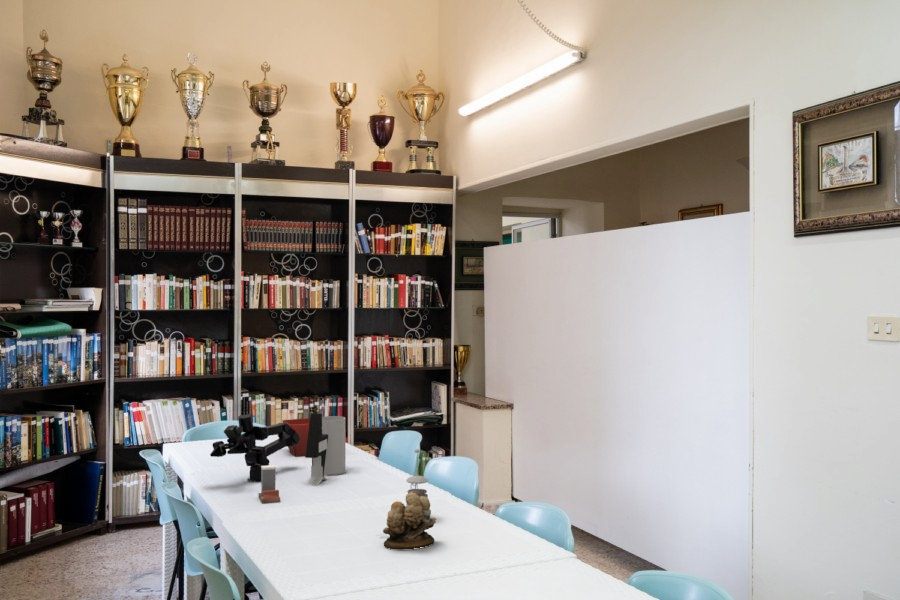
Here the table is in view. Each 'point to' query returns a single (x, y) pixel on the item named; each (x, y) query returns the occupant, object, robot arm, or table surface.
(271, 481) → the gray cream rectangular block
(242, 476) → the table surface
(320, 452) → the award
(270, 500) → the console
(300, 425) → the plant pot
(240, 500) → the table surface
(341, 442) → the cylinder vase
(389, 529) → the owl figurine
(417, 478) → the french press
